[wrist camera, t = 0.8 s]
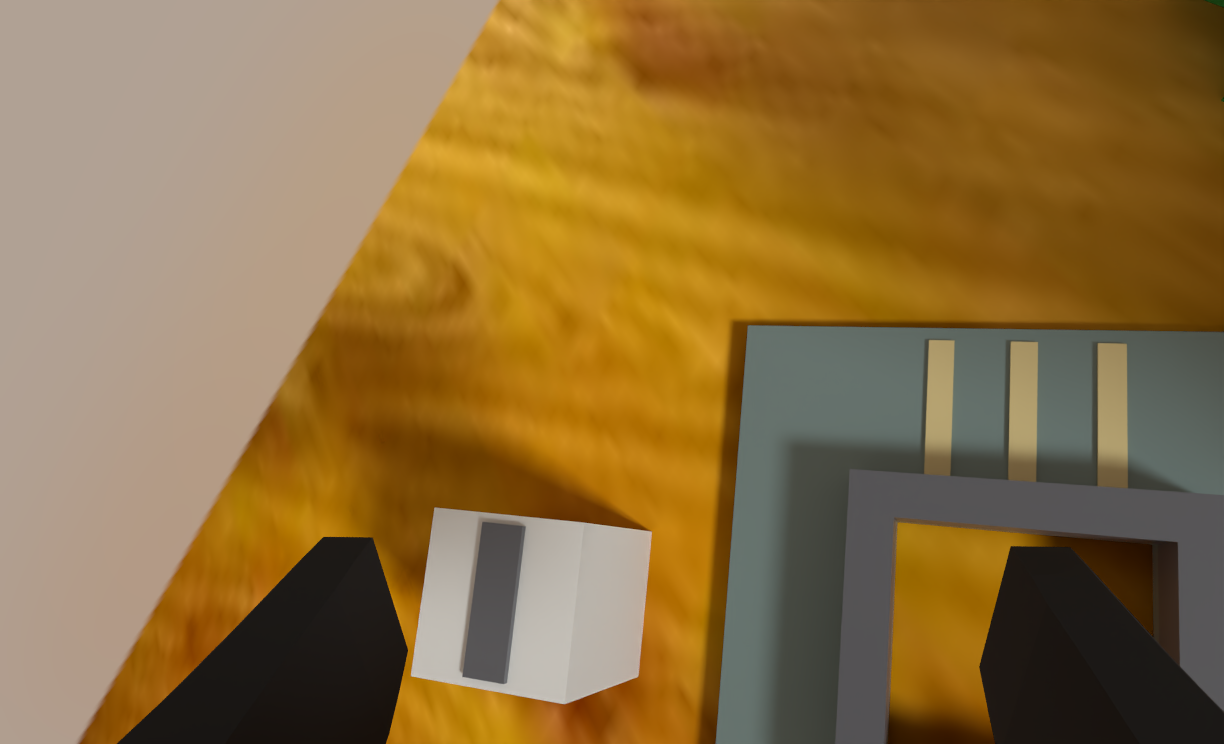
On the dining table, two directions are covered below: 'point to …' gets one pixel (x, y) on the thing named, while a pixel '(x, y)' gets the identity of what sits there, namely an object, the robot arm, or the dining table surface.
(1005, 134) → the dining table surface
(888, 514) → the header socket
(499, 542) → the plug
